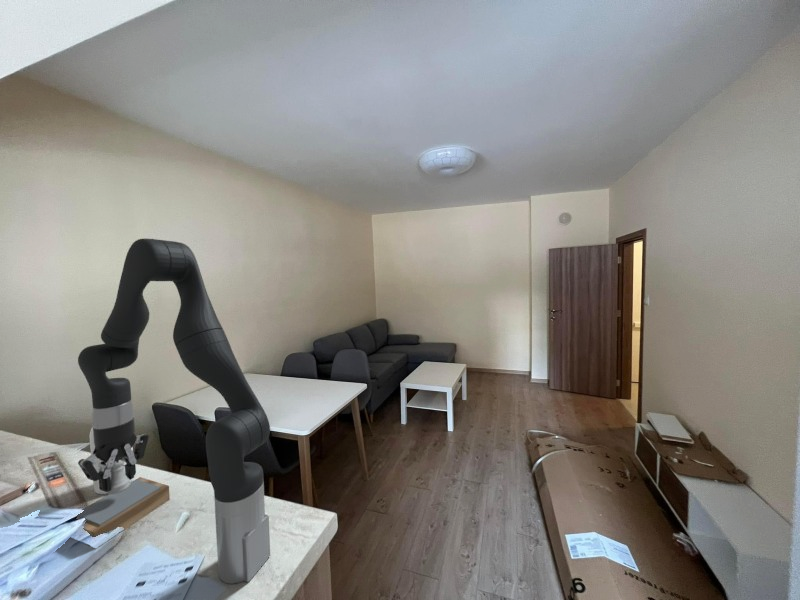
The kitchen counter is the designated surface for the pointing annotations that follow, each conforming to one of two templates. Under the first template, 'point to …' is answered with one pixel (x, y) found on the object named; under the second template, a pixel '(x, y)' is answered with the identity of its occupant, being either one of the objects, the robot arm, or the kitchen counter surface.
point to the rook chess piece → (118, 477)
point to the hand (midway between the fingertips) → (118, 483)
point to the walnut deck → (132, 511)
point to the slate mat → (117, 502)
